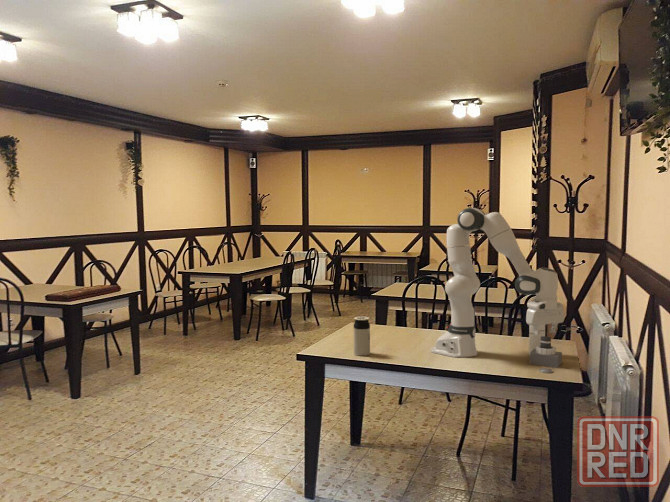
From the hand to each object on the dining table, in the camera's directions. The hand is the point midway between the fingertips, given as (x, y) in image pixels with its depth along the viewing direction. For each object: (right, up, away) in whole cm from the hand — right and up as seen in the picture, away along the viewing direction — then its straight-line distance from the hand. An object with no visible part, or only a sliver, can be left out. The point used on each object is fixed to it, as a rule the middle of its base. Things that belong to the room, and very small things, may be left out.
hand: (544, 333), depth 233 cm
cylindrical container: (+2, -13, +15) cm, 20 cm away
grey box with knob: (+1, -14, +1) cm, 14 cm away
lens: (+1, -9, 0) cm, 9 cm away
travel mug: (-82, -14, +20) cm, 86 cm away
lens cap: (-4, -15, -12) cm, 19 cm away
